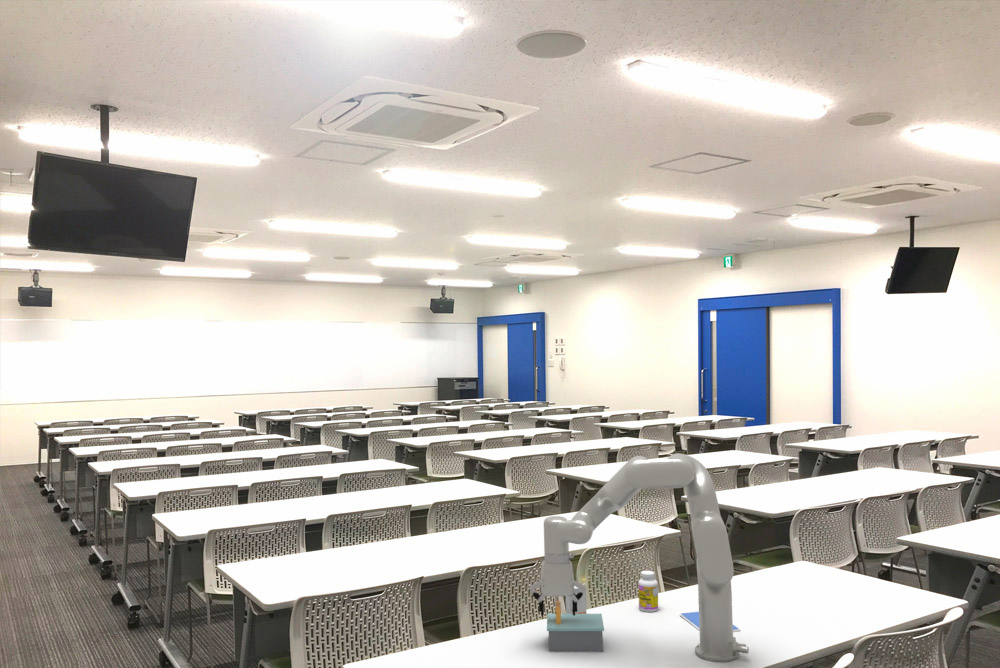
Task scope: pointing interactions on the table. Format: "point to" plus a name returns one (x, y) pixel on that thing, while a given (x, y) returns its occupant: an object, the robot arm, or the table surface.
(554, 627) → the lid
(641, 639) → the table surface
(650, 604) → the supplement bottle
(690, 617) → the tablet computer
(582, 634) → the tub
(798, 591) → the table surface
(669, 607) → the table surface
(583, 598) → the skincare box
